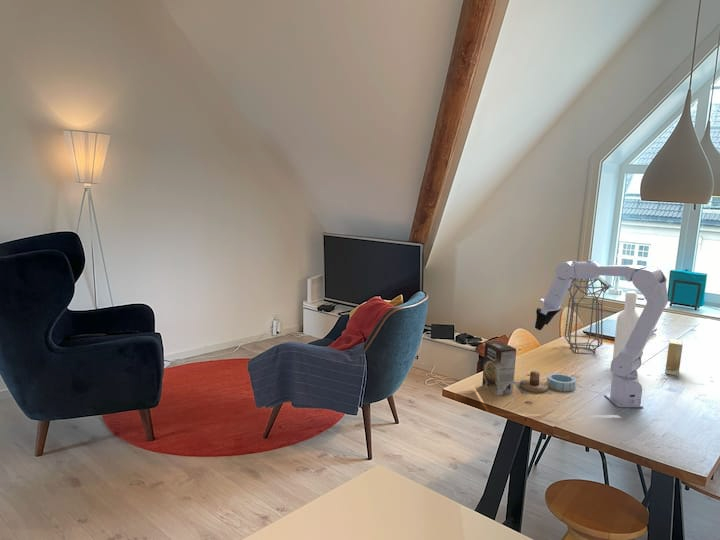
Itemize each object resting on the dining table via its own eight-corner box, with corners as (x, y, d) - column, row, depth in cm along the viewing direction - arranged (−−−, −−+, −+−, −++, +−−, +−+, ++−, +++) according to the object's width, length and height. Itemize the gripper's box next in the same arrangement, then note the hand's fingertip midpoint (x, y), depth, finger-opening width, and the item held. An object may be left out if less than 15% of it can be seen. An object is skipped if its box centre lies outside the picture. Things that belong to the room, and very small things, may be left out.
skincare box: (665, 369, 199) (669, 338, 197) (678, 371, 197) (682, 340, 195) (665, 374, 194) (669, 342, 192) (678, 376, 191) (682, 344, 189)
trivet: (552, 395, 170) (552, 393, 170) (522, 395, 170) (522, 393, 170) (541, 384, 180) (541, 382, 180) (513, 383, 180) (513, 381, 180)
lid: (552, 393, 171) (553, 378, 170) (525, 392, 171) (526, 377, 170) (542, 382, 180) (543, 368, 179) (516, 382, 180) (517, 368, 179)
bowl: (579, 393, 173) (580, 383, 173) (552, 392, 173) (553, 383, 172) (568, 383, 182) (569, 373, 181) (542, 382, 182) (543, 373, 181)
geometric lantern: (607, 358, 210) (614, 273, 204) (566, 356, 213) (572, 272, 207) (596, 346, 226) (602, 266, 220) (558, 344, 228) (563, 266, 222)
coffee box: (481, 387, 176) (484, 341, 174) (497, 385, 178) (500, 340, 176) (497, 398, 168) (500, 350, 165) (513, 395, 170) (517, 348, 167)
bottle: (606, 367, 200) (614, 290, 195) (620, 364, 203) (628, 289, 198) (625, 374, 193) (634, 294, 188) (639, 371, 196) (648, 293, 191)
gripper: (552, 283, 188) (537, 315, 193) (539, 292, 177) (524, 325, 182) (570, 292, 185) (555, 324, 190) (558, 302, 173) (542, 335, 178)
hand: (541, 326), depth 186 cm, fingers open, 7 cm apart
